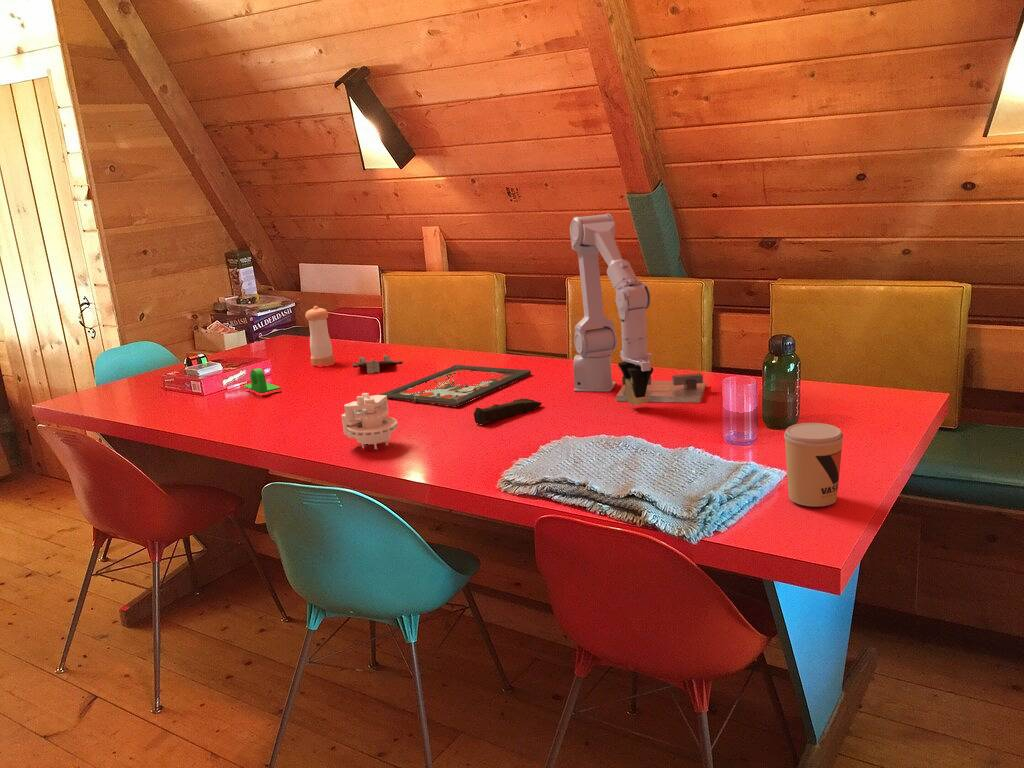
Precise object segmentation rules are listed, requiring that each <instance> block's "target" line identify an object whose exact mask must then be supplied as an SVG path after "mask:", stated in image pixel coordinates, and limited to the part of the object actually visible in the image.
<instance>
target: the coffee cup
mask: <svg viewBox="0 0 1024 768" xmlns="http://www.w3.org/2000/svg"><path fill="white" fill-rule="evenodd" d="M783 436H784V437H783V438H784V440H785V442H784V443H785V447H784V448H785V460H786V474H787V487H788V498H789V499H790V501H792V502H793V503H795V504H796V505H800V506H805V507H817V508H818V507H826V506H830V505H833V504H834V503H836V502H837V499H838V491H839V482H840V472H841V462H842V460H841V459H842V449H843V440H844V434H843V432H842V430H841V429H840V428H839V427H837V426H835V425H832V424H828V423H820V422H803V423H801V422H800V423H795V424H792V425H790V426H788V427H787V428H786V429H785V432H784V433H783Z"/></svg>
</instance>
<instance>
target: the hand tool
mask: <svg viewBox="0 0 1024 768" xmlns="http://www.w3.org/2000/svg"><path fill="white" fill-rule="evenodd" d="M542 404H543V403H542V402H540V401H536V400H534V399H529V398H519V399H514V400H513V401H509V402H505V403H501V404H497V403H495V404H493V405H491V406H488V407H484V408H481V407H476V408H475V410H474V412H473V418H474V422H475V424H477V423H478V424H482V425H484V426H485V425H486V424H487V423H489V422H493V421H498V420H501V418H502V419H504V417H505V418H508V417H507V416H509V417H512V416H515V415H517V413H518V414H521V413H520V412H522V413H528V412H527V411H529V412H531V411H533V410H535V409H537V408H538V407H540V406H541V405H542ZM530 410H531V411H530ZM514 414H515V415H514ZM511 415H512V416H511ZM497 419H498V420H497ZM478 424H477V425H478ZM482 425H481V426H482Z"/></svg>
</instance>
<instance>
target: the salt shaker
mask: <svg viewBox="0 0 1024 768" xmlns="http://www.w3.org/2000/svg"><path fill="white" fill-rule="evenodd" d="M304 316H305V319H306V320H307V321H308V325H309V334H310V335H309V347H310V348H309V349H310V355H311V356H310V363H311V364H312V365H329V364H332V363H334V362H335V363H336V361H335V360H336V359H335V354H334V353H333V346H332V341H331V336H330V334H329V330H328V329H329V327H328V321H327V319H328V317H329V312H328V310H327V309H326V308H322V307H319V306H318V305H314V306H313V308H311V309H308V310H306V312H305V315H304ZM312 365H311V366H312Z"/></svg>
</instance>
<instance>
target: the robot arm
mask: <svg viewBox="0 0 1024 768" xmlns="http://www.w3.org/2000/svg"><path fill="white" fill-rule="evenodd" d="M569 233H570V244H571V245H570V246H571V250H572V251H575V252H577V257H578V258H577V259H578V260H577V261H578V266H579V267H578V268H579V276H580V278H579V279H580V287H581V297H582V306H583V317H582V319H580V321H579V322H577V324H575V325H574V337H573V338H574V339H573V343H574V348H575V350H576V352H577V353H578V354H575V355H574V358H573V367H572V368H573V380H574V381H573V384H574V390H573V391H574V392H602V393H603V392H605V393H607V392H608V393H609V392H611V391H612V390H613V389H614V387H615V386H616V384H617V382H616V381H613V377H612V357H611V355H612V354H614V350H616V348H617V346H618V335H617V332H616V329H615V323H614V322H613V321H612V320H611V319H609V318H608V317H606V316H605V313H604V303H603V293H602V284H601V274H600V264H599V254H600V255H601V257H602V258H603V260H604V261H605V263H606V264H607V270H606V274H607V277H608V279H609V281H610V283H611V286H612V288H613V289H614V291H615V293H616V294H615V304H616V307H617V312H618V318H619V319H620V324H621V325H620V326H621V327H620V328H621V329H620V330H621V348H622V349H621V350H619V352H620V354H619V355H620V359H621V361H620V362H618V363H617V365H618V367H619V369H620V371H621V373H622V375H623V376H624V379H625V378H631V379H632V382H633V387H634V393H635V396H636V398H639V397H645V394H646V389H647V385H648V381H649V378H650V376H651V377H652V374H653V372H654V368H653V367H652V365H651V364H652V362H651V361H650V359H652V358H653V353H650V352H648V335H647V333H648V332H647V329H648V328H647V309H648V308H649V307H650V305H651V292H650V289H649V287H648V285H647V284H646V283H643V281H641V280H639V279H638V278H637V276H636V273H635V272H634V269H633V267H632V266H631V263H630V262H629V261H628V260H625V259H623V258H622V255H621V252H620V250H619V247H618V244H617V241H616V238H615V236H616V221H615V219H614V217H613V216H612V215H611V214H610V213H605V214H604V213H603V214H597V215H596V214H595V215H587V216H574V217H573V218H572V220H571V223H570V225H569ZM623 376H622V377H623Z"/></svg>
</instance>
